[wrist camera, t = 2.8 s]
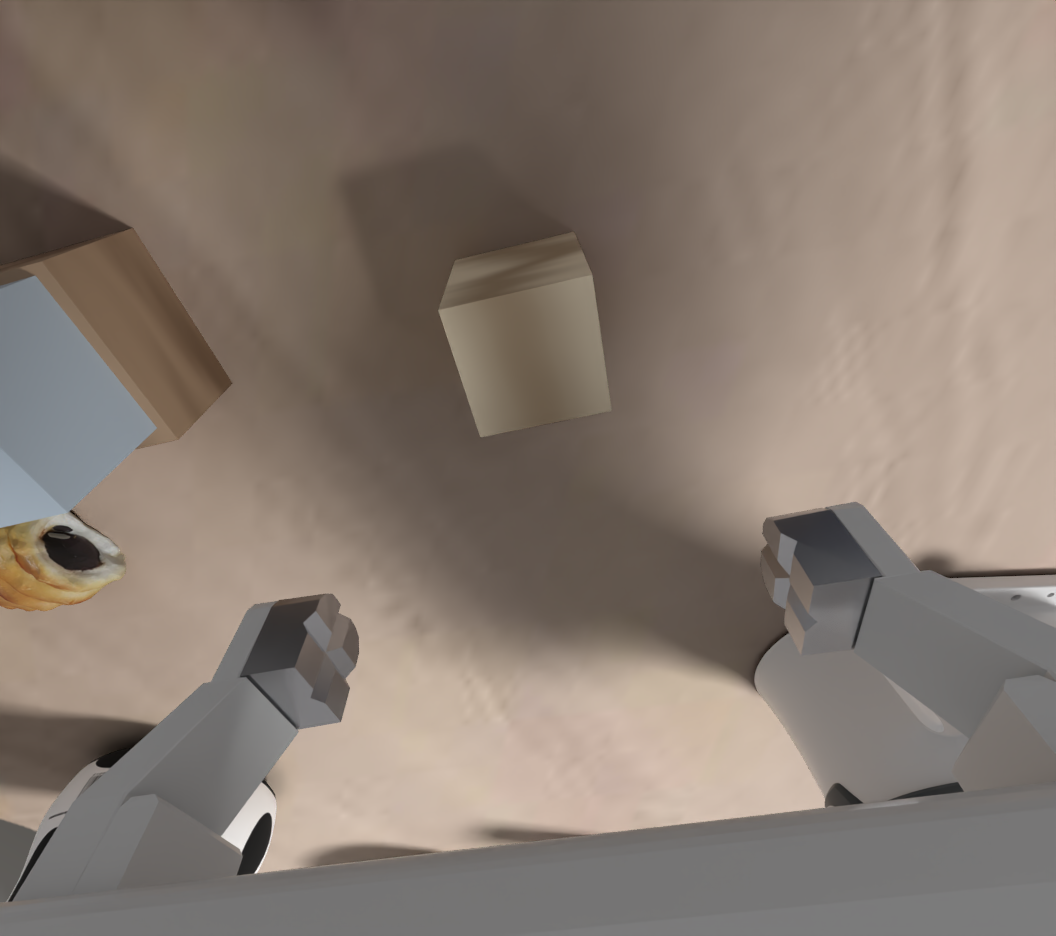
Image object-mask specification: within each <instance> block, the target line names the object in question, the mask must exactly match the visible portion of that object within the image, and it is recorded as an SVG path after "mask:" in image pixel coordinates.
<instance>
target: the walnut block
mask: <svg viewBox="0 0 1056 936" xmlns="http://www.w3.org/2000/svg"><path fill="white" fill-rule="evenodd" d="M35 275H36V277H37V278H38V279H39V281H40V282H41V283H42V284H43V286H44V287H45V288H46V289H47V291H48V292H49V293H50V294H51V296H52V297H53V298H54V299H55V301H56V302H57V303H58V304H59V306H60V307H61V308H62V309H63V311H64V312H65V313H66V314H67V316H68V317H69V318H70V319H71V321H72V322H73V323H74V324H75V326H76V327H77V328H78V329H79V331H80V332H81V333H82V334H83V336H84V337H85V338H86V339H87V341H88V342H89V343H90V344H91V346H92V347H93V348H94V349H95V351H96V352H97V353H98V354H99V356H100V357H101V358H102V359H103V361H104V362H105V363H106V364H107V366H108V367H109V368H110V369H111V371H112V372H113V373H114V374H115V376H116V377H117V378H118V379H119V381H120V382H121V383H122V384H123V386H124V387H125V388H126V389H127V391H128V392H129V393H130V395H131V396H132V397H133V398H134V400H135V401H136V402H137V403H138V405H139V406H140V407H141V408H142V410H143V411H144V412H145V413H146V415H147V416H148V417H149V418H150V420H151V421H152V422H153V423H154V425H155V426H156V427H157V429H156V430H155V431H154V432H153V433H152V434H150V435H149V436H148V437H147V438H146V439H145V440H144V441H143V442H142V443H141V444H140V445H139V446H138V447H137V448H136V449H139V448H144V447H148V446H153V445H157V444H162V443H166V442H171V441H175V440H179V439H180V437H181V436H182V435H183V434H184V433H185V432H186V431H187V430H188V429H189V428H190V427H191V426H192V425H193V424H194V423H195V422H196V421H197V420H198V419H199V418H200V417H201V416H202V415H203V413H204V412H205V411H206V410H207V409H208V408H209V407H210V406H211V405H212V404H213V403H214V402H215V401H216V400H217V399H218V398H219V397H220V396H221V395H222V394H223V393H224V392H225V391H226V390H227V388H228V387H229V386H230V385H231V384H232V382H231V380H230V379H229V377H228V376H227V374H226V372H225V371H224V369H223V368H222V366H221V365H220V363H219V361H218V360H217V358H216V357H215V355H214V354H213V352H212V351H211V349H210V347H209V346H208V344H207V343H206V341H205V340H204V338H203V336H202V335H201V333H200V332H199V330H198V329H197V327H196V326H195V324H194V322H193V321H192V319H191V318H190V316H189V315H188V313H187V311H186V310H185V308H184V307H183V305H182V304H181V302H180V300H179V299H178V297H177V296H176V294H175V293H174V291H173V290H172V288H171V286H170V285H169V283H168V282H167V280H166V279H165V277H164V275H163V274H162V272H161V271H160V269H159V268H158V266H157V265H156V263H155V261H154V260H153V258H152V257H151V255H150V254H149V252H148V250H147V249H146V247H145V246H144V244H143V243H142V241H141V240H140V238H139V236H138V235H137V233H136V232H135V230H134V229H133V228H131V229H128V230H124V231H120V232H117V233H113V234H110V235H106V236H103V237H99V238H96V239H92V240H89V241H85V242H81V243H78V244H74V245H71V246H67V247H64V248H60V249H57V250H53V251H50V252H46V253H42V254H39V255H35V256H32V257H28V258H25V259H21V260H18V261H14V262H11V263H7V264H3V265H0V286H1V285H5V284H8V283H11V282H15V281H18V280H22V279H25V278H28V277H32V276H35Z"/></svg>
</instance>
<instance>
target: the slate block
mask: <svg viewBox="0 0 1056 936" xmlns="http://www.w3.org/2000/svg"><path fill="white" fill-rule="evenodd" d="M156 429H157V427H156V426H155V425H154V423H153V422H152V421H151V420H150V418H149V417H148V416H147V415H146V413H145V412H144V411H143V410H142V408H141V407H140V406H139V405H138V403H137V402H136V401H135V400H134V398H133V397H132V396H131V395H130V393H129V392H128V391H127V389H126V388H125V387H124V386H123V384H122V383H121V382H120V381H119V379H118V378H117V377H116V376H115V374H114V373H113V372H112V371H111V369H110V368H109V367H108V366H107V364H106V363H105V362H104V361H103V359H102V358H101V357H100V356H99V354H98V353H97V352H96V351H95V349H94V348H93V347H92V346H91V344H90V343H89V342H88V341H87V339H86V338H85V337H84V336H83V334H82V333H81V332H80V331H79V329H78V328H77V327H76V326H75V324H74V323H73V322H72V321H71V319H70V318H69V317H68V316H67V314H66V313H65V312H64V311H63V309H62V308H61V307H60V306H59V304H58V303H57V302H56V301H55V299H54V298H53V297H52V296H51V294H50V293H49V292H48V291H47V289H46V288H45V287H44V286H43V284H42V283H41V282H40V281H39V279H38V278H37V277H36V275H35V276H32V277H28V278H25V279H22V280H18V281H15V282H11V283H8V284H5V285H1V286H0V528H2V527H7V526H11V525H16V524H20V523H24V522H29V521H33V520H38V519H42V518H46V517H51V516H55V515H60V514H64V513H68V512H69V511H70V510H71V509H72V508H73V507H74V506H75V505H77V504H78V503H79V502H80V501H81V500H82V499H83V498H84V497H85V496H86V495H87V494H88V493H89V492H90V491H91V490H92V489H93V488H94V487H96V486H97V485H98V484H99V483H100V482H101V481H102V480H103V479H104V478H105V477H106V476H107V475H108V474H109V473H110V472H111V471H112V470H113V469H115V468H116V467H117V466H118V465H119V464H120V463H121V462H122V461H123V460H124V459H125V458H126V457H127V456H128V455H129V454H130V453H131V452H132V451H134V450H135V449H136V448H137V447H138V446H139V445H140V444H141V443H142V442H143V441H144V440H145V439H146V438H147V437H148V436H149V435H150V434H152V433H153V432H154V431H155V430H156Z"/></svg>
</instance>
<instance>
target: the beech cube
mask: <svg viewBox="0 0 1056 936" xmlns="http://www.w3.org/2000/svg"><path fill="white" fill-rule="evenodd" d="M438 312H439V315H440V318H441V321H442V324H443V327H444V330H445V333H446V336H447V339H448V342H449V345H450V348H451V351H452V354H453V357H454V360H455V363H456V366H457V369H458V372H459V375H460V378H461V381H462V384H463V387H464V390H465V393H466V396H467V399H468V402H469V405H470V408H471V411H472V414H473V417H474V420H475V423H476V426H477V429H478V432H479V435H480V438H481V437H486V436H491V435H496V434H501V433H506V432H511V431H516V430H520V429H525V428H530V427H535V426H540V425H545V424H550V423H555V422H560V421H565V420H570V419H575V418H580V417H585V416H590V415H595V414H600V413H605V412H610V411H612V408H611V401H610V394H609V387H608V380H607V373H606V366H605V359H604V352H603V345H602V338H601V331H600V324H599V318H598V311H597V304H596V297H595V290H594V283H593V276H592V273H591V270H590V268H589V265H588V263H587V261H586V258H585V256H584V254H583V251H582V249H581V246H580V244H579V242H578V239H577V237H576V235H575V232H570V233H566V234H562V235H557V236H553V237H549V238H545V239H541V240H537V241H533V242H528V243H524V244H520V245H516V246H512V247H508V248H504V249H500V250H495V251H491V252H487V253H483V254H479V255H475V256H471V257H466V258H462V259H458V260H455V262H454V265H453V268H452V271H451V274H450V277H449V280H448V283H447V286H446V288H445V291H444V294H443V297H442V300H441V303H440V306H439V309H438Z"/></svg>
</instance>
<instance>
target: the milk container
mask: <svg viewBox="0 0 1056 936" xmlns="http://www.w3.org/2000/svg"><path fill="white" fill-rule="evenodd" d="M131 749H132V748H131ZM131 749H123V750H119V751H116V752H113V753H110V754H107V755H105V756H102V757H100V758H98V759H96V760H94V761H92V762H91V763H89V764H88V765H87V766H86V767H84V768H83V769H82V770H81V771H80V772H79V773H78V774H77V775H76V776H75V777H74V778H73V779H72V780H71V781H70V783H69V784H68V785H67V786H66V787H65V788H64V790H63V791H62V792H61V793H60V795H59V796H58V797H57V799H56V800H55V801H54V803H53V804H52V805H51V807H50V808H49V810H48V811H47V813H46V815H45V816H44V818H43V820H42V822H41V824H40V826H39V828H38V831H37V833H36V836H35V838H34V840H33V844H32V846H31V849H30V852H29V854H28V857H27V860H26V863H25V865H24V868H23V870H22V873H21V875H20V878H19V880H18V882H17V884H16V886H15V888H14V889H13V891H12V893H11V895H10V897H9V898H8V900H7V902H12V901H13V899H14V897H15V896H16V894H17V893H18V891H19V889H20V888H21V886H22V884H23V883H24V881H25V880H26V878H27V876H28V875H29V873H30V871H31V870H32V868H33V867H34V865H35V863H36V862H37V860H38V858H39V857H40V855H41V853H42V852H43V850H44V849H45V847H46V845H47V844H48V842H49V840H50V839H51V837H52V836H53V834H54V832H55V831H56V829H57V827H58V826H59V824H60V823H61V821H62V819H63V818H64V816H65V814H66V813H67V811H68V809H69V808H70V806H71V805H72V803H73V802H74V801H75V800H76V799H77V798H78V797H79V796H80V795H81V794H82V793H84V792H85V791H86V790H87V789H88V788H89V787H90V786H91V785H92V784H93V783H95V782H96V781H97V780H98V779H99V778H100V777H101V776H102V775H103V774H104V773H105V772H107V771H108V770H109V769H110V768H111V767H112V766H113V765H114V764H115V763H116V762H118V761H119V760H120V759H121V758H122V757H123V756H124V755H125V754H126V753H127V752H129V751H130V750H131ZM276 810H277V806H276V798H275V794H274V792H273V790H272V789H271V788H270V786H269V785H268V784H267V783H266V781H265V780H264V779H263V781H262V782H261V783H260V785H259V786H258V787H257V789H256V790H255V791H254V793H253V794H252V796H251V797H250V798H249V800H248V801H247V802H246V804H245V805H244V806H243V808H242V809H241V810H240V812H239V813H238V814H237V816H236V817H235V818H234V820H233V821H232V823H231V824H230V825H229V827H228V828H227V829H226V831H225V832H224V833H223V835H222V836H221V837H222V838H224V839H225V840H227V841H228V842H230V843H231V844H233V845H235V846H236V847H238V848H239V849H240V851H241V853H242V856H243V858H242V861H241V864H240V867H239V870H238V873H237V876H238V875H246V874H255V873H257V872H258V870H259V868H260V866H261V865H262V863H263V861H264V858H265V856H266V853H267V851H268V848H269V845H270V842H271V838H272V834H273V829H274V824H275V818H276Z"/></svg>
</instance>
